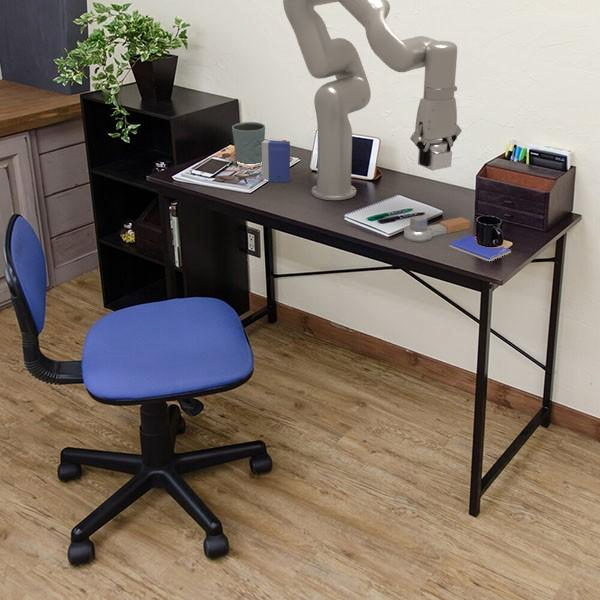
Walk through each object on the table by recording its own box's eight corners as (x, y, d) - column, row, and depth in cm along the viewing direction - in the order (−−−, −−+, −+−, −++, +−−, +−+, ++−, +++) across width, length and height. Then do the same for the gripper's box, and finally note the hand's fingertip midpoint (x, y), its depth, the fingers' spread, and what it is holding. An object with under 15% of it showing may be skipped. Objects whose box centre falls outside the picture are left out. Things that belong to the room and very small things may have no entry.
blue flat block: (511, 249, 223) (471, 234, 232) (490, 257, 218) (449, 242, 227) (510, 255, 224) (470, 240, 232) (489, 264, 219) (449, 248, 228)
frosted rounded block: (417, 164, 238) (419, 141, 235) (436, 160, 241) (437, 138, 238) (432, 170, 233) (433, 147, 231) (450, 166, 236) (452, 143, 234)
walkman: (290, 179, 273) (289, 140, 268) (288, 182, 270) (287, 142, 265) (264, 178, 274) (263, 138, 269) (262, 181, 272) (261, 141, 267)
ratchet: (456, 222, 242) (458, 204, 240) (473, 230, 237) (475, 212, 235) (398, 234, 234) (399, 216, 232) (414, 244, 229) (415, 225, 227)
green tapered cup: (265, 169, 282) (264, 130, 277) (232, 169, 282) (231, 130, 276) (266, 158, 291) (265, 121, 286) (233, 159, 291) (232, 121, 286)
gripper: (456, 86, 236) (451, 154, 244) (401, 94, 228) (398, 164, 236) (475, 91, 230) (470, 161, 238) (420, 100, 222) (416, 172, 230)
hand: (434, 162), depth 237 cm, fingers closed on frosted rounded block, 6 cm apart
